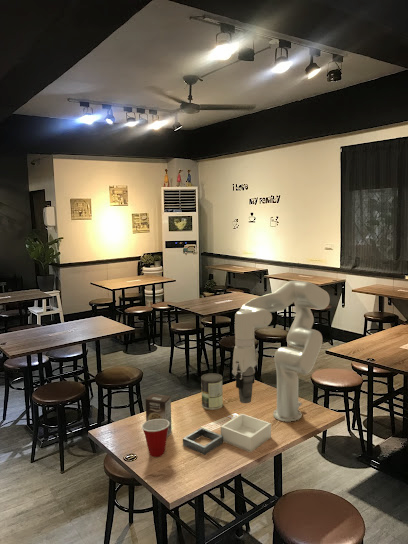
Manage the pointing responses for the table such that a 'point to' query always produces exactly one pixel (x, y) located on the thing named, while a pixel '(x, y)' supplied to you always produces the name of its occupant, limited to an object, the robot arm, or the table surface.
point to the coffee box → (159, 409)
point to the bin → (246, 432)
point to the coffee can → (212, 391)
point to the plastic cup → (156, 436)
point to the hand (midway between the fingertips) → (245, 384)
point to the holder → (190, 443)
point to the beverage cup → (246, 386)
